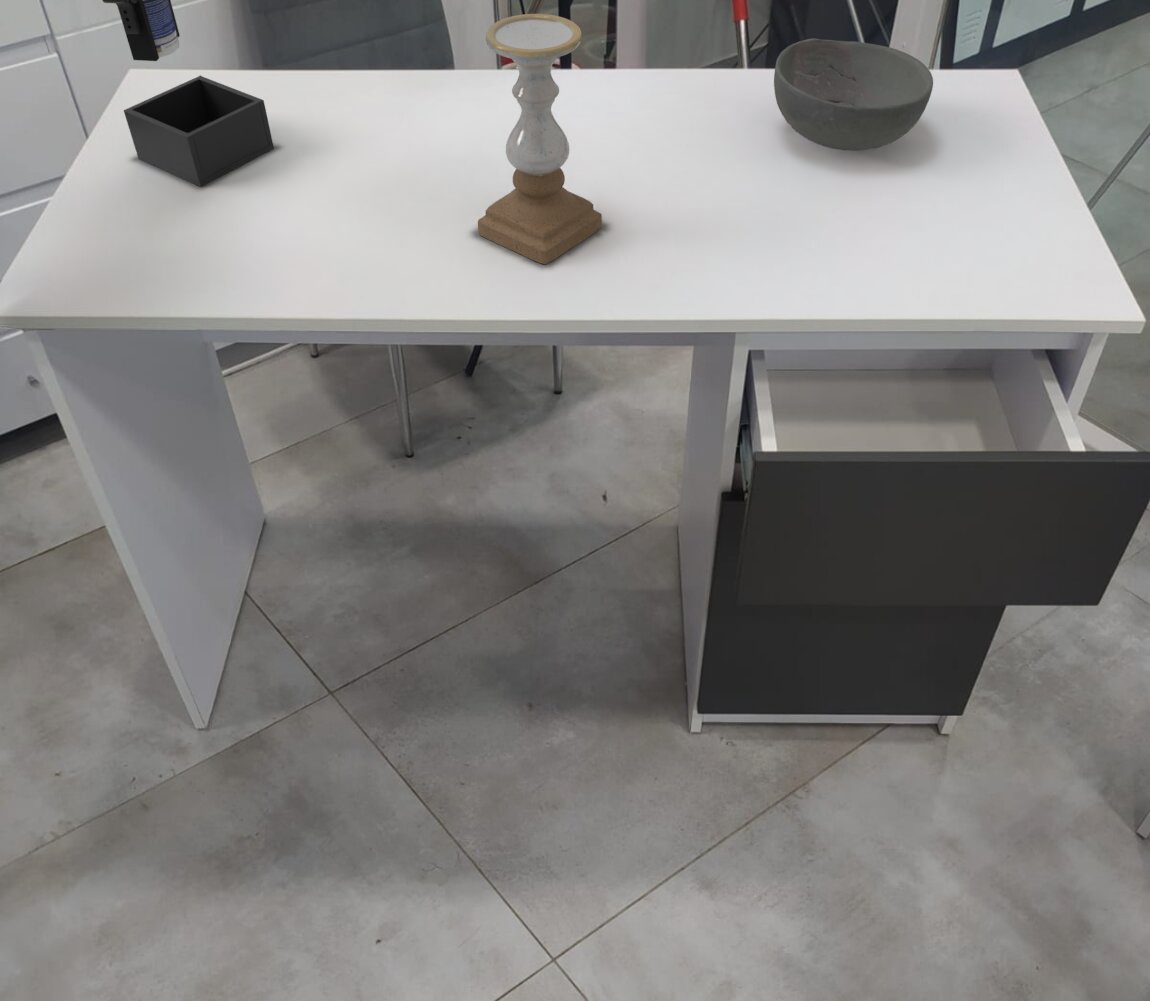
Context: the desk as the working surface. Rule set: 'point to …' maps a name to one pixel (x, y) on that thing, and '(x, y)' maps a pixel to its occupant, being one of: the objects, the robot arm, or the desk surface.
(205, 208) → the desk surface
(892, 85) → the bowl
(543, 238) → the candle holder
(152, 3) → the pill bottle
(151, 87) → the desk surface
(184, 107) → the basket
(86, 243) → the desk surface
